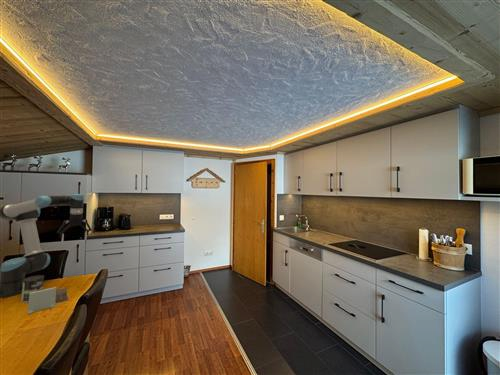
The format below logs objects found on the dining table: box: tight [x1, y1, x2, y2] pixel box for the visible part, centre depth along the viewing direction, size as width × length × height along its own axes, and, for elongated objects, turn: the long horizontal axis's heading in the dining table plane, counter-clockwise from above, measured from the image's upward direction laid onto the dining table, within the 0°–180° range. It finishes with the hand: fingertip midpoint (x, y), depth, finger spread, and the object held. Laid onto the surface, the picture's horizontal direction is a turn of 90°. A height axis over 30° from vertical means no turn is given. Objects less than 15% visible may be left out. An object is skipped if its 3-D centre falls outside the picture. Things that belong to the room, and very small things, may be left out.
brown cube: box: [55, 287, 68, 302], centre depth 139 cm, size 6×6×6 cm
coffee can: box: [20, 274, 45, 303], centre depth 139 cm, size 10×10×14 cm
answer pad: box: [55, 295, 69, 304], centre depth 139 cm, size 8×8×1 cm
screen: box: [27, 286, 57, 315], centre depth 128 cm, size 5×12×12 cm, turn 138°
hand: (74, 241), depth 155 cm, fingers open, 13 cm apart
